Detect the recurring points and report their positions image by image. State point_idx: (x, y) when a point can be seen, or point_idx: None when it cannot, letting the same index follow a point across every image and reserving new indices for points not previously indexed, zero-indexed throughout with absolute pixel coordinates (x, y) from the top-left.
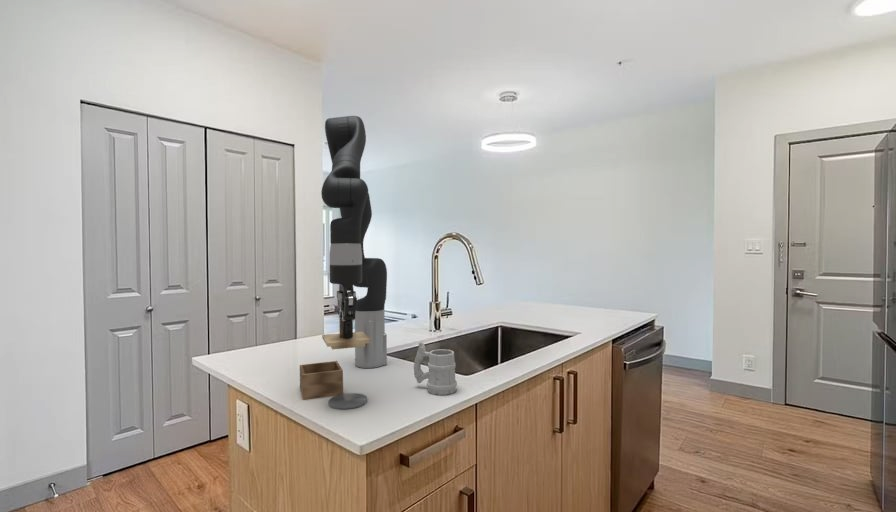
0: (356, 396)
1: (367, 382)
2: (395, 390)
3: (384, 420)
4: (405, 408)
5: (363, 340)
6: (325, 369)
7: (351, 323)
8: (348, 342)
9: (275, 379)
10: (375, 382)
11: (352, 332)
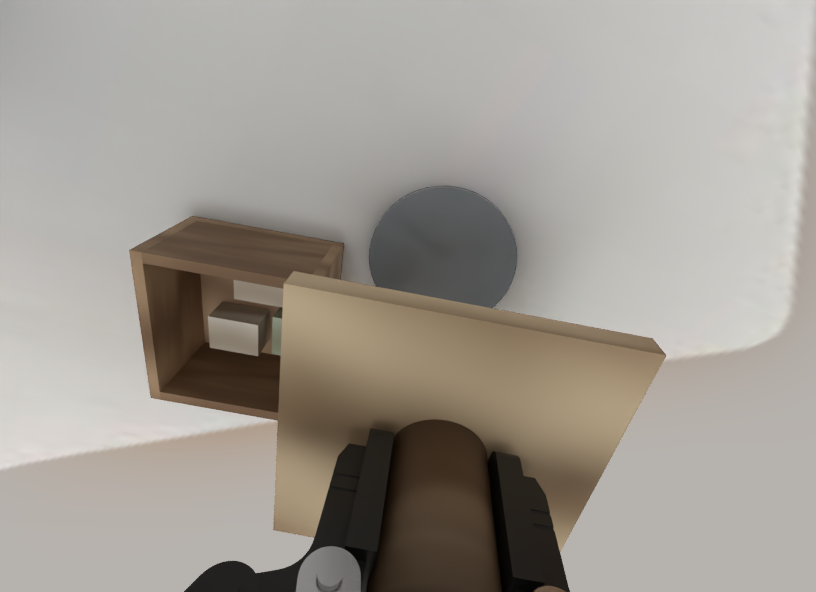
0: (426, 223)
1: (236, 91)
2: (422, 10)
3: (697, 217)
4: (665, 86)
5: (635, 406)
6: (167, 291)
7: (565, 583)
8: (589, 485)
9: (76, 380)
10: (252, 53)
11: (522, 482)
